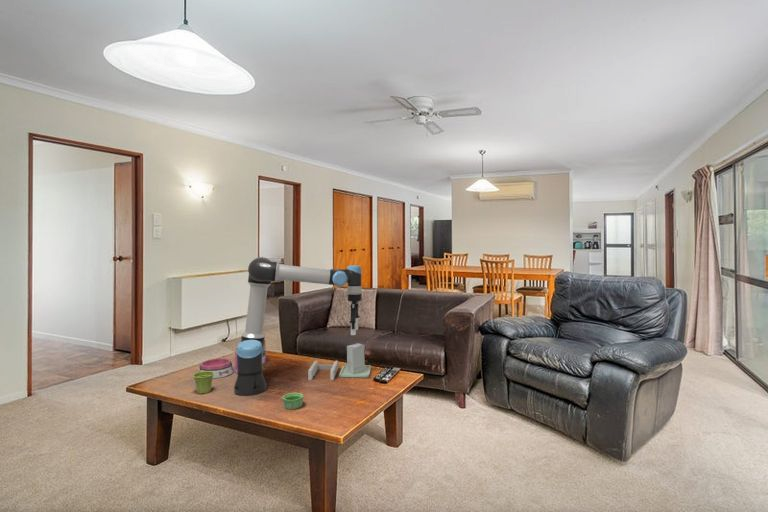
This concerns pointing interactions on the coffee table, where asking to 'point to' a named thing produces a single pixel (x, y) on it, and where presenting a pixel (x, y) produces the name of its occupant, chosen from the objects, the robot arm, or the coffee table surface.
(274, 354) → the coffee table surface
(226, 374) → the dog bowl
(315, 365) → the bay
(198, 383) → the plant pot
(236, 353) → the gum box
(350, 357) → the skincare box
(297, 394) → the ramekin
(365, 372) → the tray
